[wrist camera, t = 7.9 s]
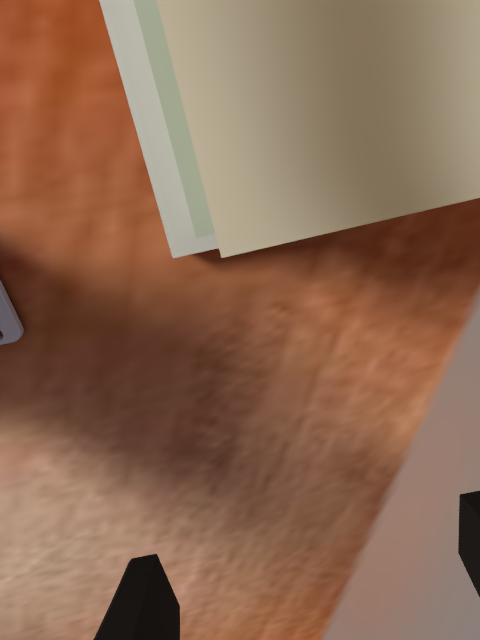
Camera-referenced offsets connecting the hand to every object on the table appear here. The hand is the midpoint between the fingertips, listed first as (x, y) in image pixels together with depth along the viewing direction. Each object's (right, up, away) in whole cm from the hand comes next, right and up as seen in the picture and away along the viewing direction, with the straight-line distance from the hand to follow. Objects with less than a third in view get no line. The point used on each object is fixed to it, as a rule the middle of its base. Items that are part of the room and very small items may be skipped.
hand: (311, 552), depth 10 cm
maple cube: (0, +12, +1) cm, 12 cm away
